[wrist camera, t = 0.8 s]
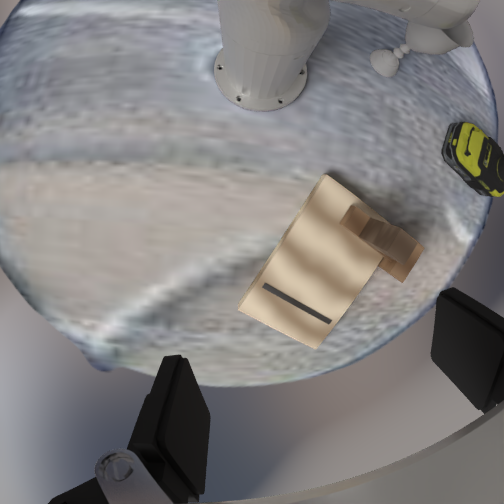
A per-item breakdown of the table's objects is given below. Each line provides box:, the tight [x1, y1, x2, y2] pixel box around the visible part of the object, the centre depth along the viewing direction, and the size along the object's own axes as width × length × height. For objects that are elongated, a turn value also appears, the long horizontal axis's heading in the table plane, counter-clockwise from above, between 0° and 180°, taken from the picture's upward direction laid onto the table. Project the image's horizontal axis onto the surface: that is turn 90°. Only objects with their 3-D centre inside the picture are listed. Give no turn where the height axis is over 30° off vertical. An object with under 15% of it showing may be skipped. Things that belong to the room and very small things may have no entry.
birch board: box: [238, 175, 390, 349], centre depth 40 cm, size 22×14×2 cm, turn 148°
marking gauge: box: [339, 205, 424, 283], centre depth 34 cm, size 6×12×12 cm, turn 58°
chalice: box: [370, 20, 474, 77], centre depth 25 cm, size 7×7×18 cm
